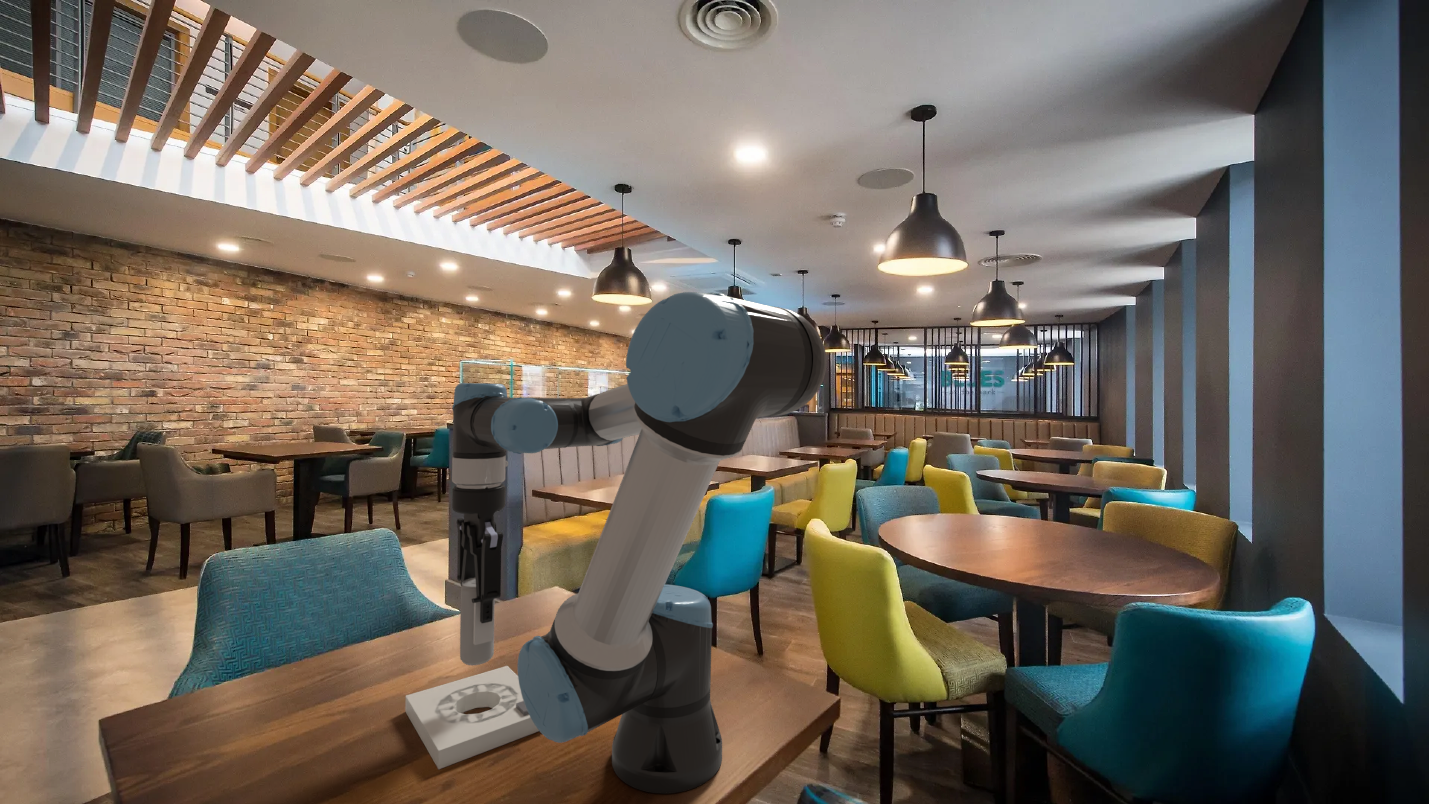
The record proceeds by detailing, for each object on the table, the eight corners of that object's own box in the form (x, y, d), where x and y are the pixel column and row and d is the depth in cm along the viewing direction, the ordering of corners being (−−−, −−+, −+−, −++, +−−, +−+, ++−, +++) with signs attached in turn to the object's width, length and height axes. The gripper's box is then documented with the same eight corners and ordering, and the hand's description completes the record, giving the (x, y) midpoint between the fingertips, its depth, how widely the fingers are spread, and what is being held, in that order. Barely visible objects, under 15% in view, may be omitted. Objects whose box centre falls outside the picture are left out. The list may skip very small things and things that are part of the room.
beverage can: (481, 668, 86) (482, 588, 86) (452, 664, 87) (453, 585, 87) (499, 654, 91) (501, 578, 91) (472, 650, 92) (473, 575, 92)
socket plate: (552, 725, 87) (552, 705, 87) (438, 769, 77) (438, 746, 77) (507, 679, 101) (507, 662, 101) (405, 711, 91) (405, 691, 91)
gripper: (526, 490, 84) (524, 649, 85) (484, 474, 98) (482, 612, 98) (473, 495, 79) (471, 664, 80) (436, 478, 93) (434, 623, 93)
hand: (477, 635), depth 89 cm, fingers closed on beverage can, 5 cm apart
